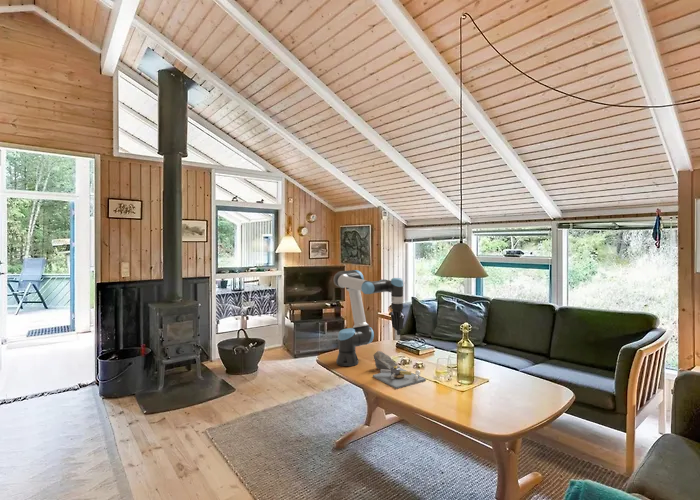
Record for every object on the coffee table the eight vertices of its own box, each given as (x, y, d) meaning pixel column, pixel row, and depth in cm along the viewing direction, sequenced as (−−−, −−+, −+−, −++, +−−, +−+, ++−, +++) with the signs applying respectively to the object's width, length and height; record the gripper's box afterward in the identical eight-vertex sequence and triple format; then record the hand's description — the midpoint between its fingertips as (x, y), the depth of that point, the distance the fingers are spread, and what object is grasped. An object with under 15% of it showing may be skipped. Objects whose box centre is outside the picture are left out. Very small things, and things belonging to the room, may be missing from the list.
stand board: (372, 376, 242) (372, 367, 242) (400, 369, 253) (400, 360, 253) (396, 389, 221) (396, 378, 221) (425, 380, 233) (425, 370, 232)
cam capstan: (376, 380, 231) (376, 370, 231) (384, 370, 249) (383, 360, 249) (408, 383, 225) (408, 372, 225) (413, 372, 243) (413, 362, 243)
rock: (399, 366, 253) (387, 346, 254) (392, 373, 248) (380, 352, 249) (387, 369, 262) (376, 350, 263) (380, 375, 257) (369, 355, 258)
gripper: (386, 301, 249) (386, 338, 250) (398, 304, 237) (399, 343, 238) (395, 300, 252) (396, 336, 253) (408, 303, 241) (408, 341, 242)
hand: (397, 339), depth 246 cm, fingers closed
